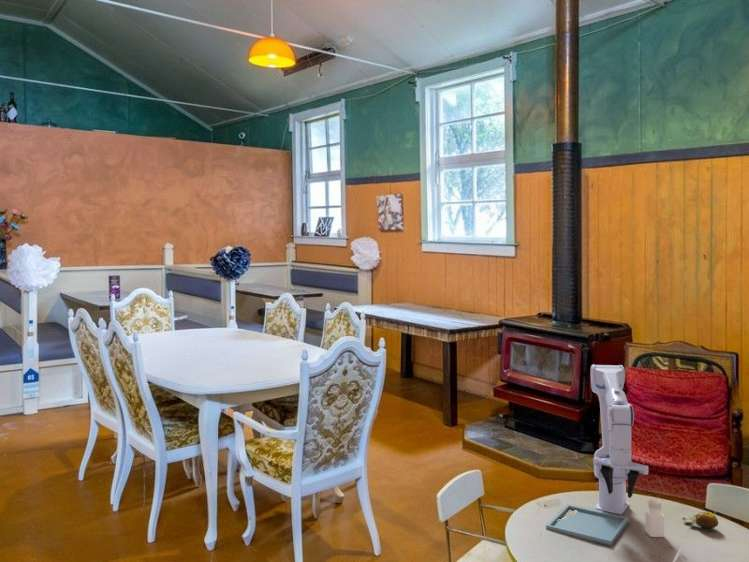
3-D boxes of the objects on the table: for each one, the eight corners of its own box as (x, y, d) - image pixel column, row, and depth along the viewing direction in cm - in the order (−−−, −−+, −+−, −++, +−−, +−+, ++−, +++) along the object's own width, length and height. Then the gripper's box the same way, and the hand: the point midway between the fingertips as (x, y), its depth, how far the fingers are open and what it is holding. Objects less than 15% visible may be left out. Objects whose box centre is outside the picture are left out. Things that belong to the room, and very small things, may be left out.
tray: (567, 509, 195) (567, 504, 195) (628, 523, 185) (628, 517, 185) (546, 530, 181) (546, 525, 180) (611, 546, 170) (611, 541, 170)
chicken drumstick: (698, 515, 188) (699, 503, 188) (725, 526, 181) (726, 514, 181) (680, 520, 185) (680, 508, 184) (706, 532, 177) (707, 519, 177)
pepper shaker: (644, 531, 179) (644, 498, 178) (658, 531, 179) (659, 498, 178) (650, 538, 175) (650, 504, 174) (665, 538, 175) (665, 504, 174)
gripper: (590, 446, 180) (590, 493, 180) (644, 455, 171) (644, 504, 172) (597, 440, 185) (597, 486, 186) (650, 448, 177) (650, 496, 178)
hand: (620, 494), depth 179 cm, fingers open, 5 cm apart
